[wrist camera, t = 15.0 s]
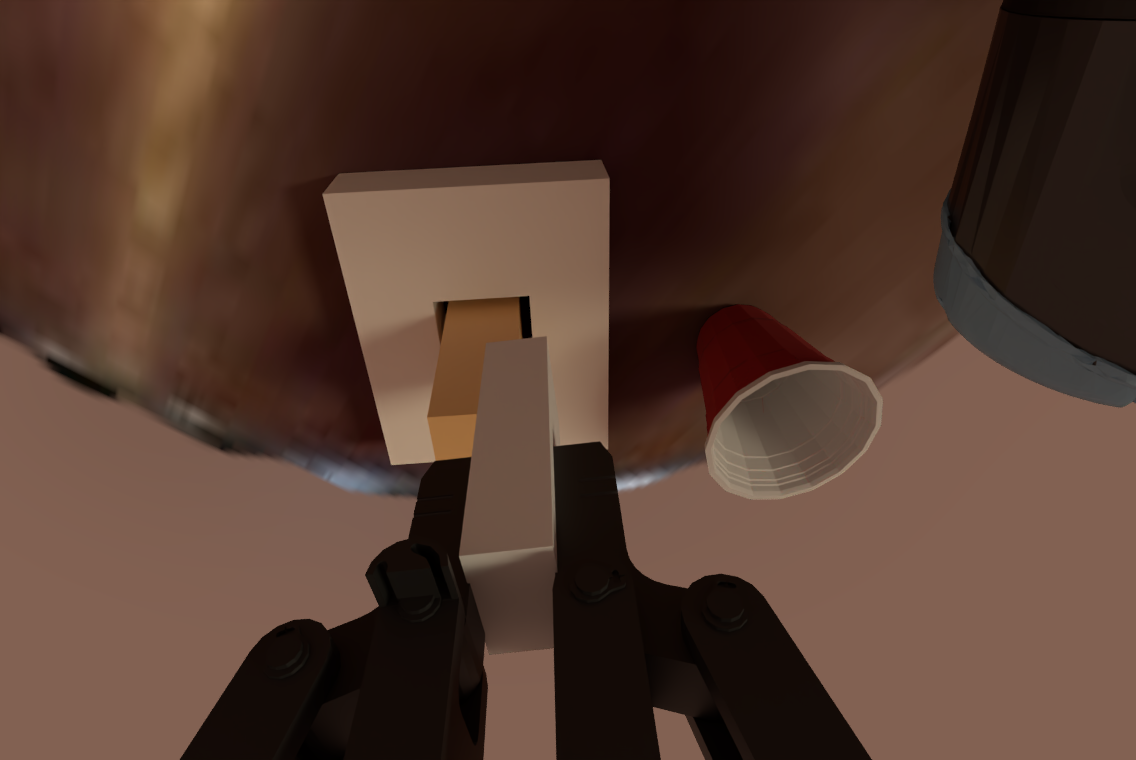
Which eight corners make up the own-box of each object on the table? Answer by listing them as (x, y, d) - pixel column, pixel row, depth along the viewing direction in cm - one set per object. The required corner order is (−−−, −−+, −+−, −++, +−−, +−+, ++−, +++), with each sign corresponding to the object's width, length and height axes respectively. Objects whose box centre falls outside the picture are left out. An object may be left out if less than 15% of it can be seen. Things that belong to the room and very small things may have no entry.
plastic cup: (728, 420, 51) (780, 531, 41) (634, 349, 46) (667, 455, 36) (836, 329, 47) (924, 429, 37) (745, 242, 42) (817, 329, 32)
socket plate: (601, 159, 38) (609, 178, 35) (601, 416, 50) (607, 449, 46) (338, 173, 38) (322, 194, 34) (399, 430, 49) (391, 465, 46)
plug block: (518, 279, 42) (520, 410, 30) (522, 336, 45) (527, 479, 33) (452, 283, 42) (427, 417, 30) (460, 340, 45) (440, 485, 32)
